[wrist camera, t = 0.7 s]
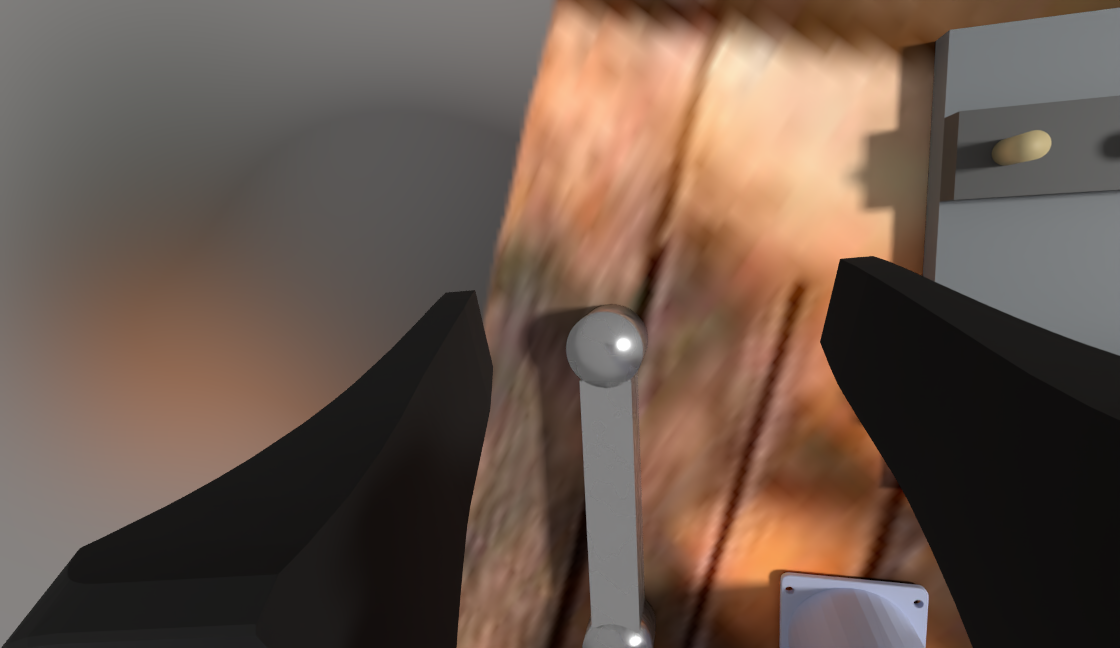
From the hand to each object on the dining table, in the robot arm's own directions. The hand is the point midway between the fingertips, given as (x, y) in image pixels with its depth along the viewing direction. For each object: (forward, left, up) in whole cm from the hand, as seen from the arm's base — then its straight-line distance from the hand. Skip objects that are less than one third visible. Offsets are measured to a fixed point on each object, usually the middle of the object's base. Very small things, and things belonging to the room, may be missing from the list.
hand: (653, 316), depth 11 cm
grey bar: (-15, +4, -22) cm, 26 cm away
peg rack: (-2, -18, -22) cm, 28 cm away
